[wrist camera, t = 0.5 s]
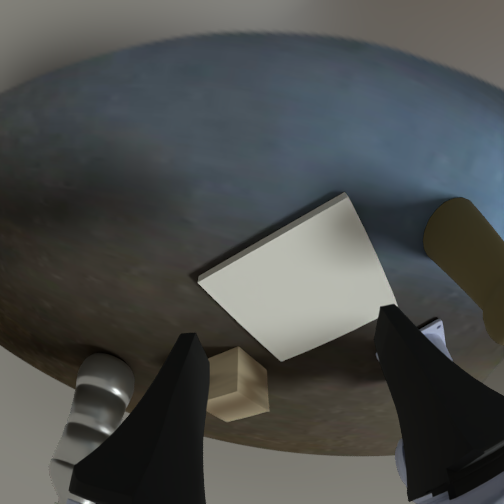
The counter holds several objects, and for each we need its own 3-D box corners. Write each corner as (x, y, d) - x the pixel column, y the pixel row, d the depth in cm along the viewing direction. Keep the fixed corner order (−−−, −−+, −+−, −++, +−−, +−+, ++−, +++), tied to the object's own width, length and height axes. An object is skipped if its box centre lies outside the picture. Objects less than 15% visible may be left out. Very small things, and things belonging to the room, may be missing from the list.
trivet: (395, 301, 24) (398, 307, 23) (280, 355, 27) (281, 361, 27) (344, 191, 18) (348, 196, 18) (198, 275, 22) (197, 282, 21)
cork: (410, 250, 21) (479, 360, 12) (447, 185, 18) (546, 276, 9) (453, 268, 22) (514, 360, 13) (487, 213, 19) (567, 295, 10)
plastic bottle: (75, 348, 28) (25, 504, 11) (115, 341, 27) (66, 527, 10) (109, 380, 31) (75, 523, 15) (150, 375, 30) (122, 540, 13)
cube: (266, 369, 29) (268, 411, 25) (228, 382, 30) (226, 421, 26) (238, 345, 27) (237, 391, 22) (198, 361, 28) (193, 403, 24)
